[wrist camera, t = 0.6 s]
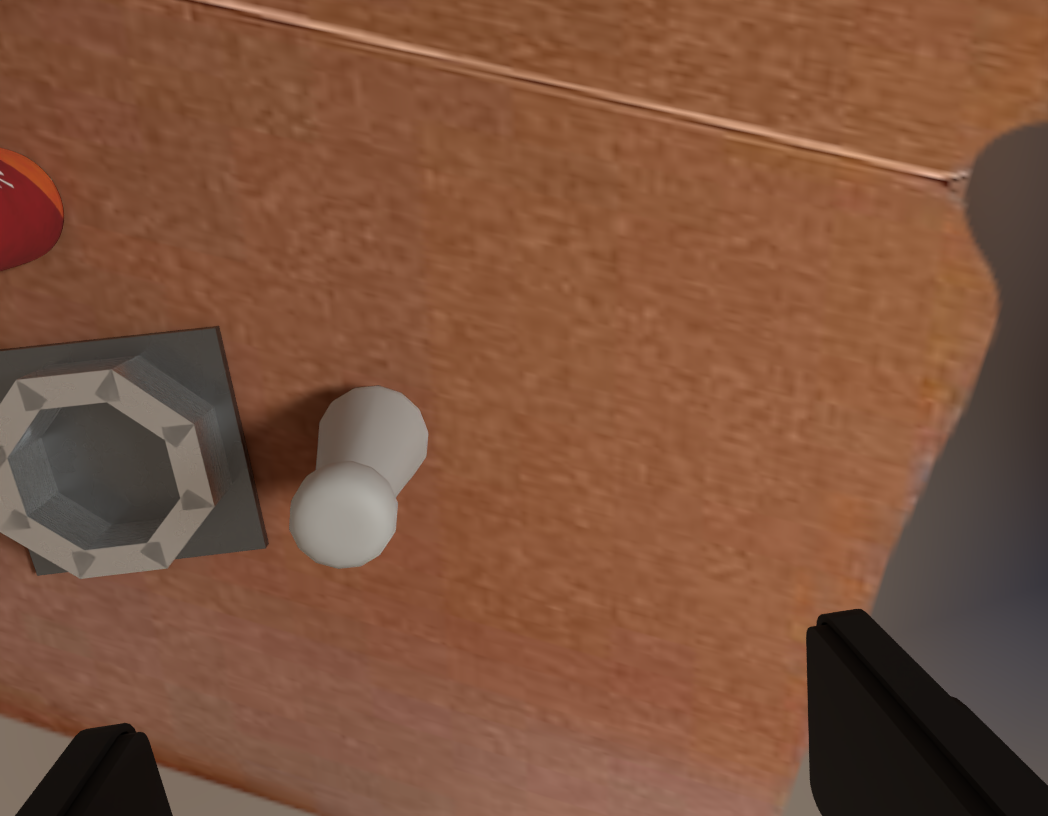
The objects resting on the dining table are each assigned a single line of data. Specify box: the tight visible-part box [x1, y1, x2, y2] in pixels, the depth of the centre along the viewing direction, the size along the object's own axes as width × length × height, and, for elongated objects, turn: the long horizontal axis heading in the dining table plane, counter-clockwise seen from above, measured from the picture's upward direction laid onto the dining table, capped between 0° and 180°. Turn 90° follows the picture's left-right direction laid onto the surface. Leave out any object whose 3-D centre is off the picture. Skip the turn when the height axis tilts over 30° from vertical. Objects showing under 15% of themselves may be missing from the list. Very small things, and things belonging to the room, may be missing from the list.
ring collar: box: [0, 326, 269, 579], centre depth 38 cm, size 13×13×4 cm
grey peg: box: [289, 385, 428, 569], centre depth 34 cm, size 6×6×13 cm
